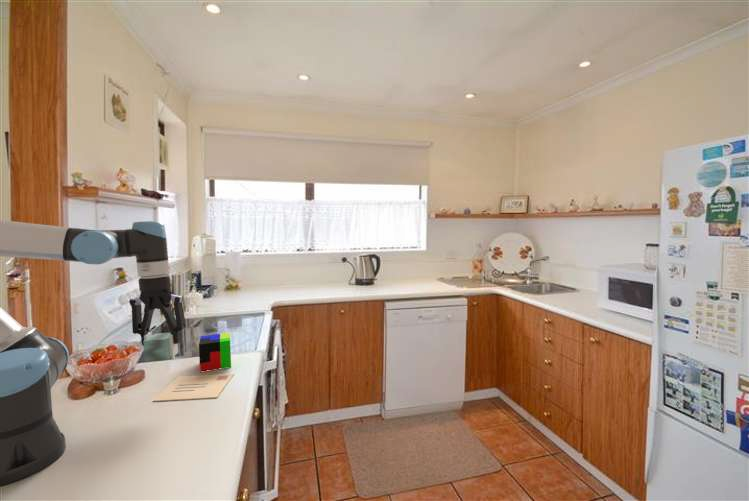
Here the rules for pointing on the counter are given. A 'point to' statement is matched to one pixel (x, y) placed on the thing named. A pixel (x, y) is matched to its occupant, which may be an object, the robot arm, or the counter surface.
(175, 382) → the letter card
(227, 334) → the puzzle toy
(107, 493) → the counter surface
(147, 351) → the teal block
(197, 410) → the counter surface
